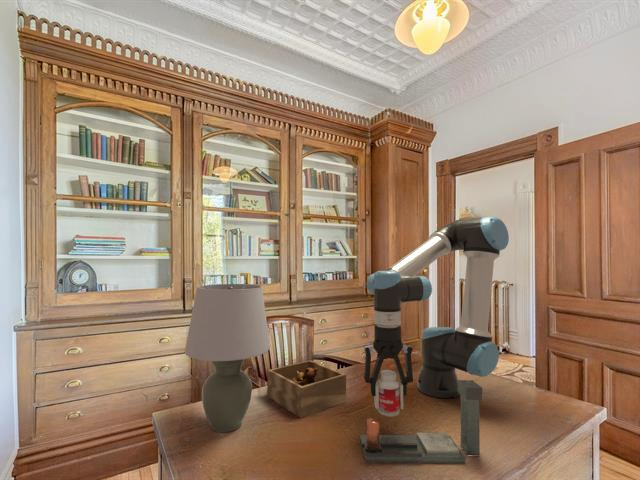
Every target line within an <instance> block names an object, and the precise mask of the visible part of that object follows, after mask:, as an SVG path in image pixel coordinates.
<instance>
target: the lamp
mask: <svg viewBox="0 0 640 480" xmlns="http://www.w3.org/2000/svg"><path fill="white" fill-rule="evenodd" d="M264 298H265V297H264V291H263V286H262V285H259V284H251V283H250V284H249V283H216V284H215V283H214V284H213V283H212V284H203V285H198V286H196V290H195V295H194V302H193V304H192V305H193V306H192V311H191V315H190V316H191V317H190V322H189V327H188V332H187V338H186V343H185V347H184V348H185V349H184V353H185V355H186V356H187V357H189V358H190V359H194V360H198V361H205V362H211V364H212V366H213V370H214V371H213V372H212V373H211V374H209V376H207V377H206V379H205V381H204V383H203V384H202V389H201V403H202V408H203V410H204V414H205V417H206V419H207V421H208V423H209V426H210V428H211V430H212V431H214V432H217V433H229V432H233V431H235V430H237V429H239V428H240V427H241V426H242V423H243V421H244V418H245V416H246V414H247V412H248V410H249V406H250V404H251V399H252V391H253V383H252V380H251V378H250V377H249V375H248V374H247V373H246V371H244V370H242V366H243V364H244V362H245V360H246V359H247V360H248V359H252V358H255V357H256V358H257V357H258V356H261V355H263V354H265V353H267V352H268V351H269V350H270V347H271V346H270V339H269V338H270V337H269V330H268V323H267V321H268V320H267V315H266V306H265V299H264Z"/></svg>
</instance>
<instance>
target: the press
mask: <svg viewBox="0 0 640 480" xmlns="http://www.w3.org/2000/svg"><path fill="white" fill-rule="evenodd" d="M458 392H459V393H460V448H461V447H462V448H463V449H462V448H461V449H462V451H463V452H464V451H465V452H466V453H465V452H464V453H465V454H466V456H467V455H480V454H481V452H480V449H481V448H480V446H481V445H480V439H481V437H480V431H481V430H480V401H483V387H482V386H480V385H479V384H478V383H477V382H476V381H475V380H469V379H467V380H465V379H462V380H461V379H458ZM360 443H361V448H362V452H363V453H362V454H363V457H364V461H365V463H376V464H378V463H384V464H385V463H386V464H387V463H388V464H390V463H391V464H394V463H395V464H396V463H397V464H398V463H399V464H466V456H465V455H464V454H463V452H462V451H461V450H460V448H459V447H458V445H457V444H456V442H455V441H454V440H453V439H452V437H451V436H450V435H448V432H416V434H415V435H411V434H409V435H408V434H407V435H403V434H400V435H399V434H394V435H393V434H379V443H380V445H381V448H382V452H379V451H365V449H364V443H367V434H360ZM480 456H481V455H480Z"/></svg>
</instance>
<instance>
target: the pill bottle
mask: <svg viewBox="0 0 640 480" xmlns="http://www.w3.org/2000/svg"><path fill="white" fill-rule="evenodd" d="M397 375H398V372H396V371H394V370H390V369H384V370H381V371H380V372H379V378H380V379H377V383H378V386H379V409H377V412H378V413H379V414H381V415H382V416H385V417H390V418H391V417H397V416H398V415H399V414H400V412H401V409H400V385H399V382H400V381H399V380H397V379H398V376H397Z"/></svg>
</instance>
